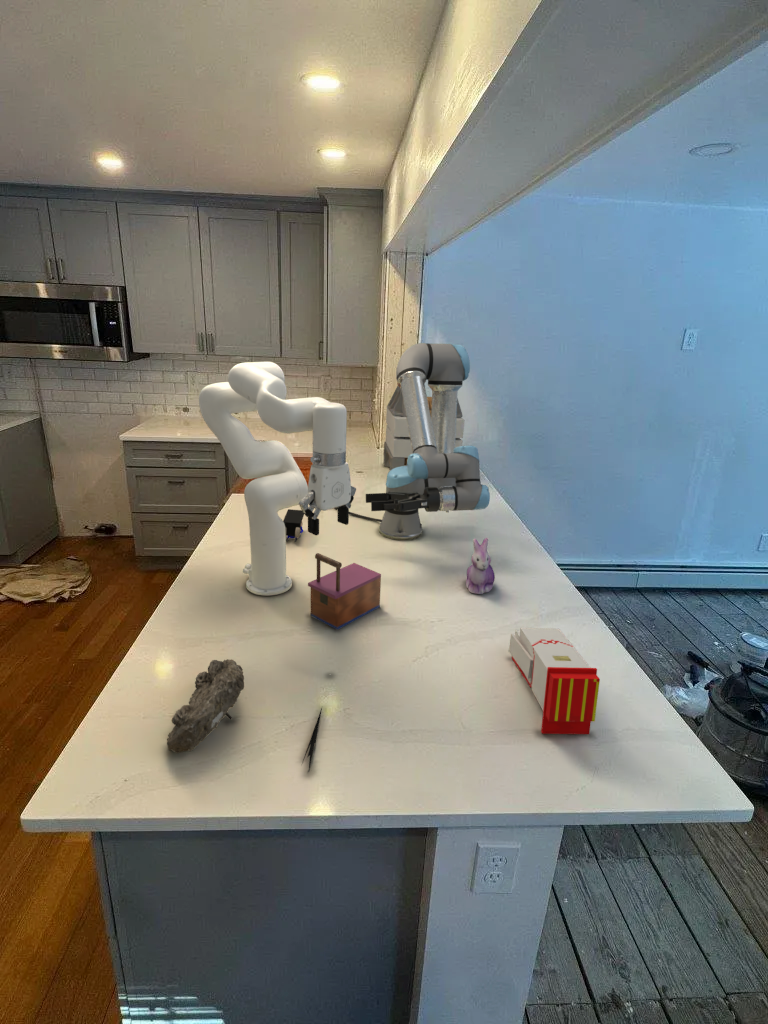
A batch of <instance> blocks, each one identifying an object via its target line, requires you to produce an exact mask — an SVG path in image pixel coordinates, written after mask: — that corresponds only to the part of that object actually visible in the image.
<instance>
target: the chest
mask: <svg viewBox="0 0 768 1024" xmlns="http://www.w3.org/2000/svg"><path fill="white" fill-rule="evenodd" d="M381 585H382V576H381V577H380V578H378V579H376V580H374V581H372V582H370V583H368V584H366V585H364V586H362V587H360V588H358V589H355V590H353V591H351V592H349V593H347V594H345V595H343V596H341V597H339V598H337V599H334V598H332V597H330V596H328V595H325V594H323V593H321V592H319V591H317V590H315V589H313V588H311V587H310V617H312V618H314V619H316V620H317V621H320V622H321V623H323V624H325V625H327V626H329V627H331V628H333V629H335V630H337V631H338V630H340V629H341V628H343V627H345V626H347V625H349V624H351V623H353V622H355V621H357V620H358V619H360V618H362V617H364V616H366V615H368V614H370V613H371V612H373V611H376V610H377V609H379V608H380V607H381V589H382V588H381V587H382V586H381Z"/></svg>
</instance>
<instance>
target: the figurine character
mask: <svg viewBox="0 0 768 1024" xmlns="http://www.w3.org/2000/svg"><path fill="white" fill-rule="evenodd" d="M304 517H305V514H304V513H303V512H302V510H301V509H290V508H289V509H288V508H287V511H286V513H285V516H284V518H283V519H282V520H283V522H284V524H285V532H286V543H288V542H289V539H294V541H293V542H294V543H296V542H297V541H298V538H299V539H300V538H301V534H302V533H303V532H304V528H303V525H304V524H303V523H304V522H303V519H304Z"/></svg>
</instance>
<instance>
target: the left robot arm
mask: <svg viewBox="0 0 768 1024" xmlns="http://www.w3.org/2000/svg"><path fill="white" fill-rule="evenodd" d="M285 382H286V378H285V374H284V371H283V370H282V368H281V367H280V366H279V365H278V364H277V363H276V362H272V361H249V362H247V361H246V362H241V363H237V364H235V365H234V366H233V367H231V369H230V370H229V371H228V374H227V381H222V382H215V383H210V384H208V385H206V386H204V387H203V388H202V389H201V390H200V392H199V396H198V406H199V410H200V413H201V417H202V419H203V421H204V423H205V424H206V426H207V427H208V428H209V430H210V431H211V433H212V434H213V435H214V436H215V437H216V438H217V439H218V441H219V443H220V444H221V447H222V448H223V450H224V452H225V455H226V456H227V458H228V459H229V461H230V464H231V465H232V467H233V469H234V470H235V473H236V474H237V475H238V476H239V477H240V478H241V479H244V480H251V481H249V482H248V483H247V484H246V486H245V487H244V491H243V494H244V495H243V498H244V503H245V506H246V510H247V515H248V524H249V544H250V545H249V546H250V563H245V565H244V568H243V569H242V574H244V575H248V579H246V582H245V586H246V589H247V591H248V592H250V593H252V594H254V595H257V596H268V597H269V596H276V595H281V594H283V593H286V592H288V590H290V589H291V588H292V586H293V579H292V578H291V577H290V576H289V575H287V542H286V538H287V536H286V532H285V524H284V522H283V520H284V519H282V517H280V515H279V514H278V513H279V511H282V510H286V509H288V508H289V509H290V508H292V507H296V506H299V507H300V510H302V512H303V513H304V517H306V518H307V533H309V534H312V535H314V536H319V535H320V518H318V517H319V515H320V513H321V512H322V511H328V510H329V511H330V510H332V509H333V510H334V509H336V507H338V509H337V519H336V520H337V522H338V523H340V524H342V525H345V526H347V525H349V524H350V523H349V520H350V519H349V518H350V514H349V512H350V509H351V507H352V502H353V501H354V499H355V494H356V492H357V487H355V486H353V485H352V483H351V472H350V471H351V470H350V466H349V462H347V424H348V423H347V421H348V418H347V417H348V410H347V408H346V406H345V405H344V404H342V403H339V402H332V401H329V400H327V399H326V398H323V397H321V396H313V397H312V396H311V397H301V398H299V397H298V398H290V399H286V398H287V394H288V393H287V392H288V391H287V385H286V383H285ZM255 411H257V413H258V416H259V418H260V420H261V422H263V423H264V424H265V425H266V426H268V427H270V428H271V429H273V430H275V431H276V432H279V433H280V434H281V433H282V434H289V435H290V434H296V433H303V432H311V431H312V456H311V457H310V459H309V460H310V462H311V463H312V464H311V465H310V470H309V476H308V482H307V480H306V478H305V476H304V474H303V472H302V471H301V469H300V467H299V466H298V464H297V462H296V460H295V458H294V456H293V454H292V453H291V451H290V450H289V448H288V447H287V446H286V444H284V443H282V442H281V441H279V440H276V439H275V440H273V439H272V440H271V439H270V440H263V441H259V440H257V439H256V438H255V437H254V436H253V434H252V432H251V431H250V428H249V427H248V426H247V425H246V424H245V423H244V422H242V421H241V420H240V419H238V418H236V417H235V416H233V414H239V413H241V414H242V413H250V412H255Z"/></svg>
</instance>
